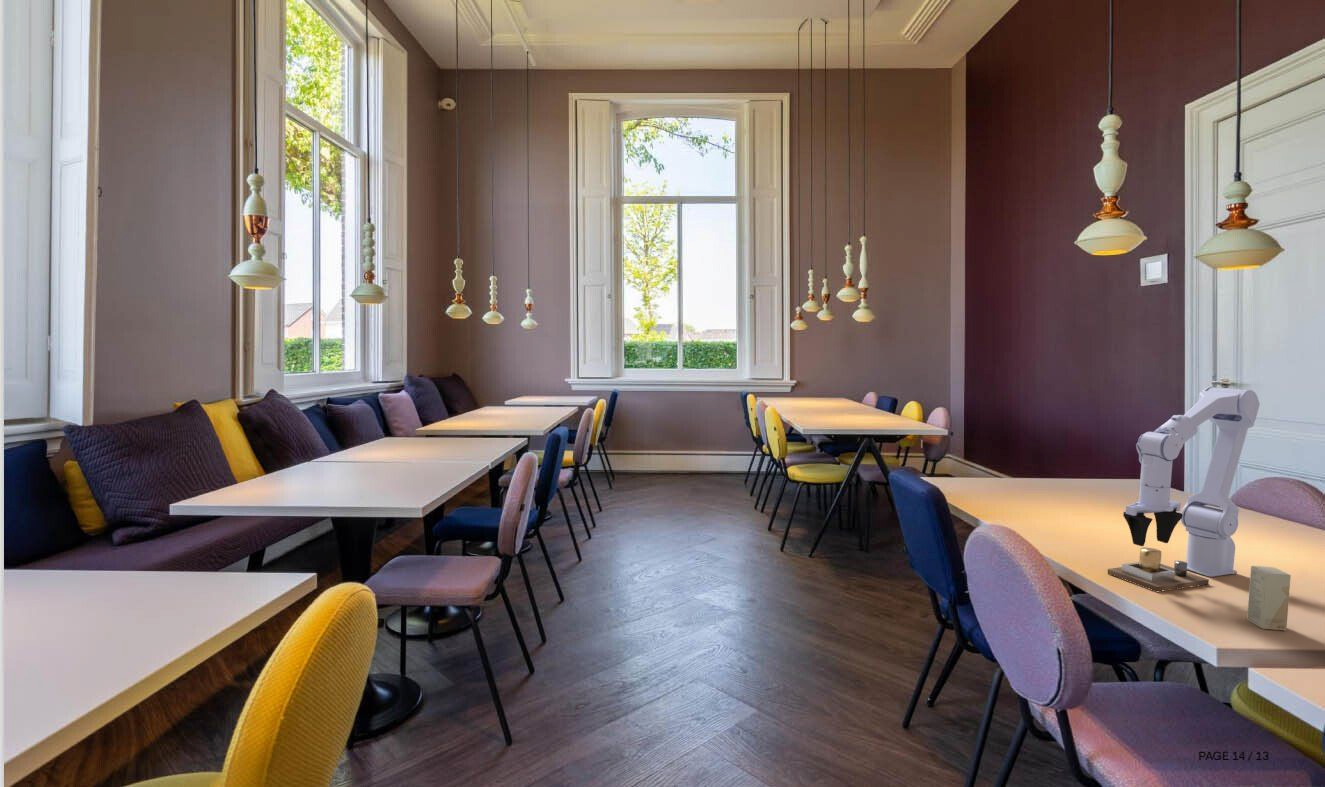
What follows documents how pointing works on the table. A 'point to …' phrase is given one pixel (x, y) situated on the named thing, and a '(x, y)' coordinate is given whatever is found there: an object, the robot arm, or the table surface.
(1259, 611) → the box
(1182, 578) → the fitting board
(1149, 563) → the cylinder
